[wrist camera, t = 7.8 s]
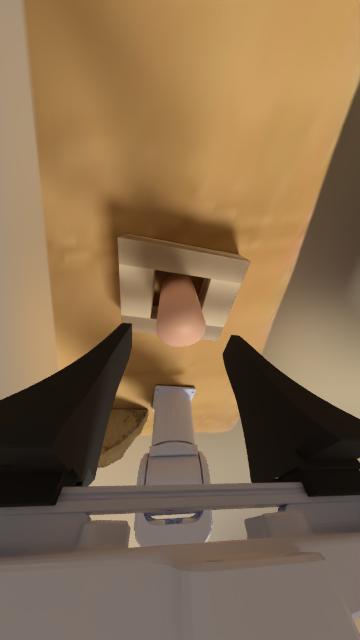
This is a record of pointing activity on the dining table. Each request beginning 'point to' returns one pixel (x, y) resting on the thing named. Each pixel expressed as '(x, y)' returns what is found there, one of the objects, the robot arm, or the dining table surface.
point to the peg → (179, 312)
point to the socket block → (154, 254)
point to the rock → (121, 433)
